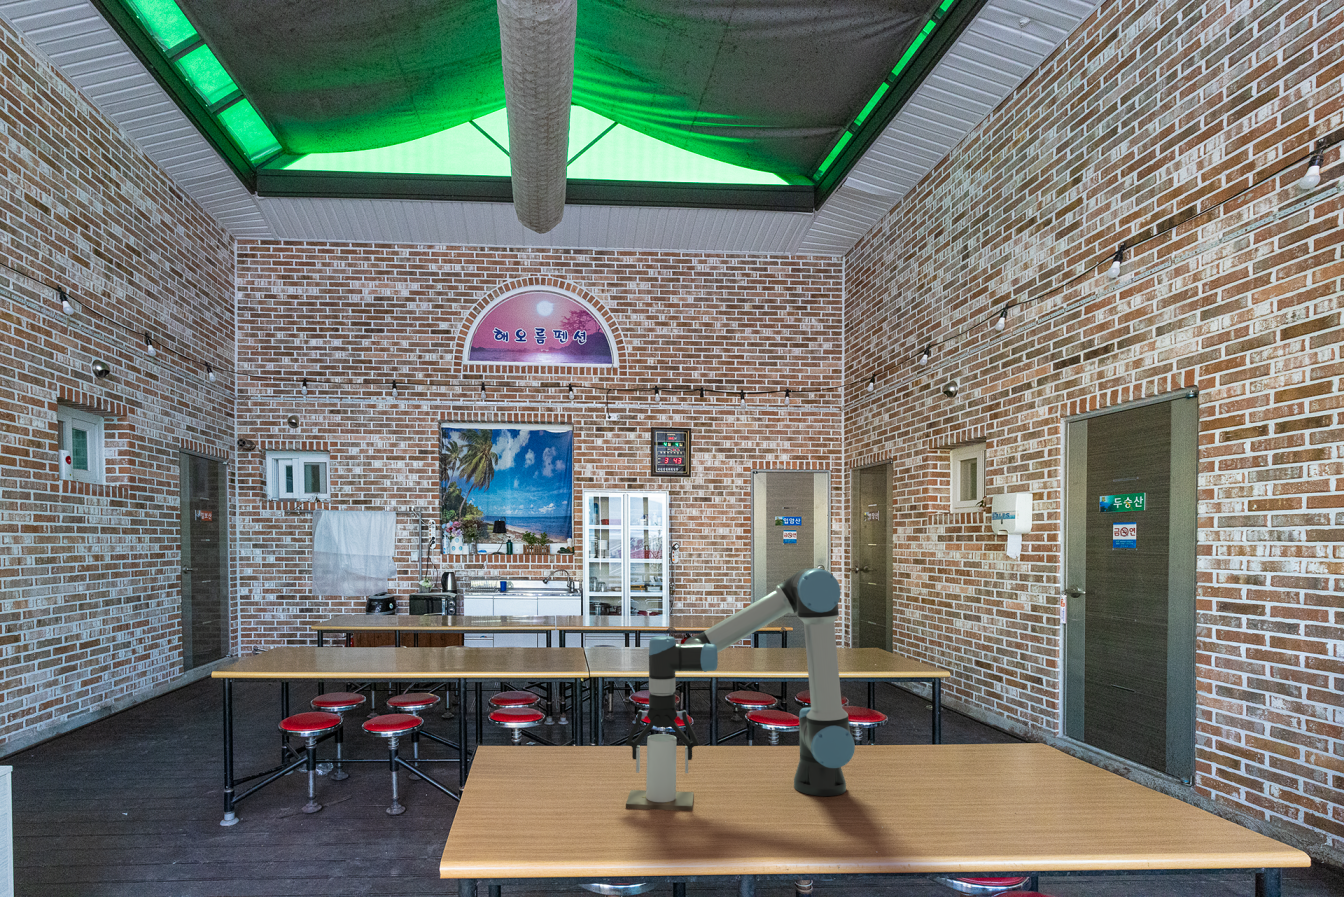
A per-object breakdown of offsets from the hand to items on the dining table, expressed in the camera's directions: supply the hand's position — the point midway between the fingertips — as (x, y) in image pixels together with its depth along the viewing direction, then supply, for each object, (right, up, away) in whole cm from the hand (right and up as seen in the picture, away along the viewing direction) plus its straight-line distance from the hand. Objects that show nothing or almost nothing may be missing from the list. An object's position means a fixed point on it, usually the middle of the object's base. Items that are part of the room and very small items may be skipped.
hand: (662, 771), depth 214 cm
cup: (0, -7, -1) cm, 7 cm away
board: (-1, -8, -1) cm, 8 cm away
